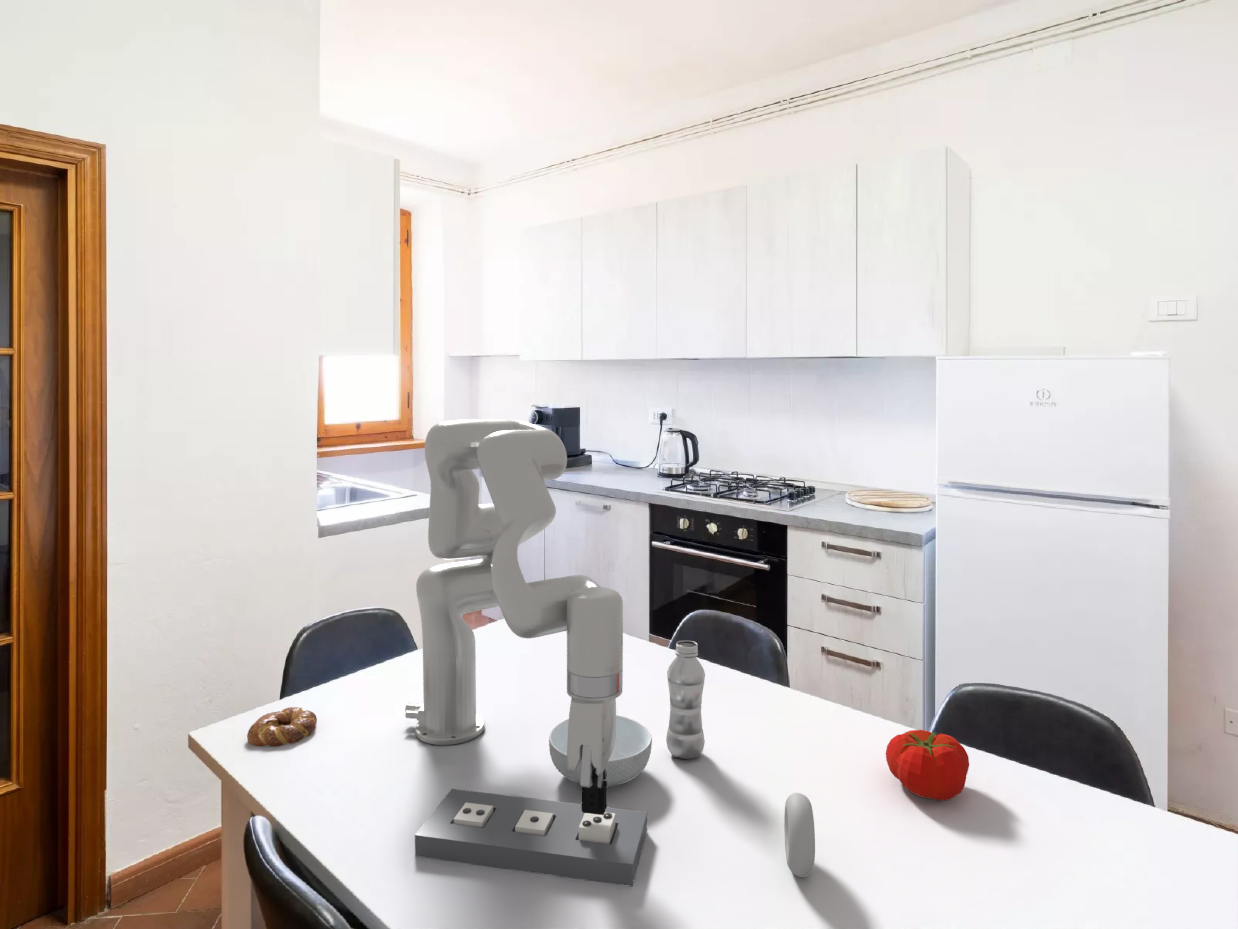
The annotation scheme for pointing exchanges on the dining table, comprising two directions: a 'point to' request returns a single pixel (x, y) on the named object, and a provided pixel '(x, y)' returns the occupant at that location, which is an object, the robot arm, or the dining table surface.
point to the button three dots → (597, 828)
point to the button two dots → (474, 815)
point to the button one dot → (534, 822)
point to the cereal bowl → (625, 755)
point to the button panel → (533, 839)
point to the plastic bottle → (685, 702)
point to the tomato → (928, 763)
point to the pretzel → (282, 727)
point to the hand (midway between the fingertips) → (594, 810)
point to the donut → (799, 834)
